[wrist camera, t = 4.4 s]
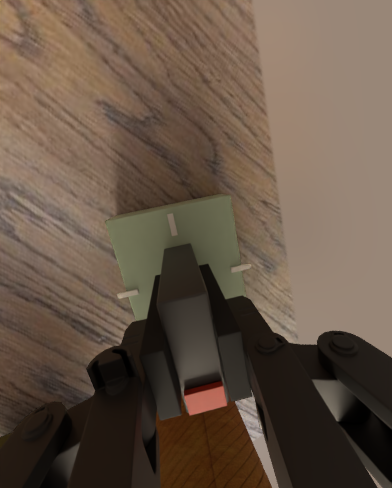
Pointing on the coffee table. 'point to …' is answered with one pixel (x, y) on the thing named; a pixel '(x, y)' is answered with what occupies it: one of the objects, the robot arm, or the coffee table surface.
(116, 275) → the coffee table surface
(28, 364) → the coffee table surface
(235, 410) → the disposable coffee cup
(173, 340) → the dial knob
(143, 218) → the dial base
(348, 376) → the robot arm
